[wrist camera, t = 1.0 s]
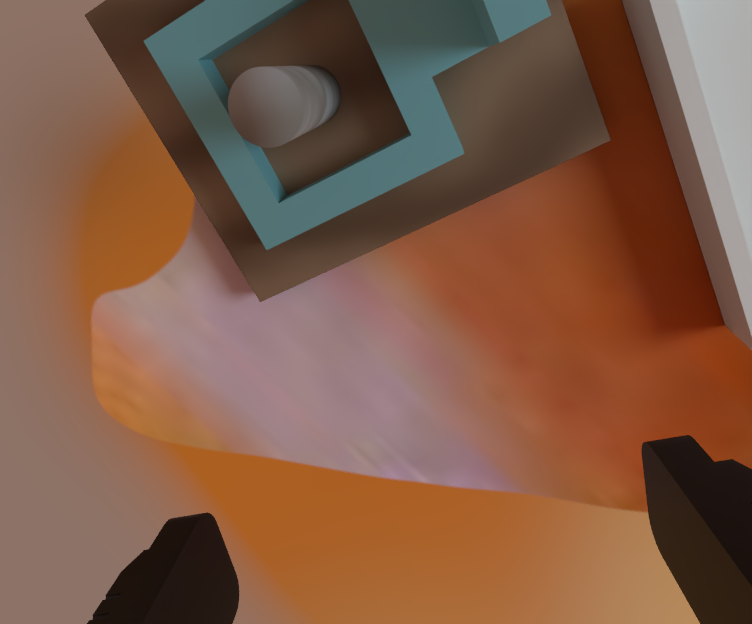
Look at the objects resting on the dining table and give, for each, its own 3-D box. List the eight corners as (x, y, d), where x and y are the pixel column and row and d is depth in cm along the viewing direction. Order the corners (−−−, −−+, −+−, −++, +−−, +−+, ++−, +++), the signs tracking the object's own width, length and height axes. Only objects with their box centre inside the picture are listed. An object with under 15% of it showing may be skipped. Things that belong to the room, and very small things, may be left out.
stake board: (105, 17, 32) (-50, -2, 22) (470, -233, 26) (486, -415, 16) (269, 290, 38) (205, 373, 28) (601, 135, 32) (673, 170, 22)
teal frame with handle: (161, 42, 30) (72, 36, 23) (457, -150, 26) (462, -233, 19) (276, 240, 34) (230, 288, 27) (553, 104, 30) (588, 118, 22)
